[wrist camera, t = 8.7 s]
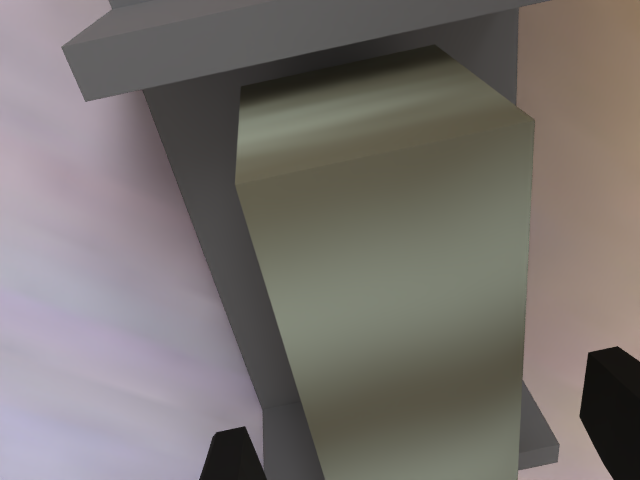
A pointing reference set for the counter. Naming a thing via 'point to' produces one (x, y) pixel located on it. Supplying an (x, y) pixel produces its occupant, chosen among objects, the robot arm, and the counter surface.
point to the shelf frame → (222, 135)
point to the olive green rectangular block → (395, 259)
